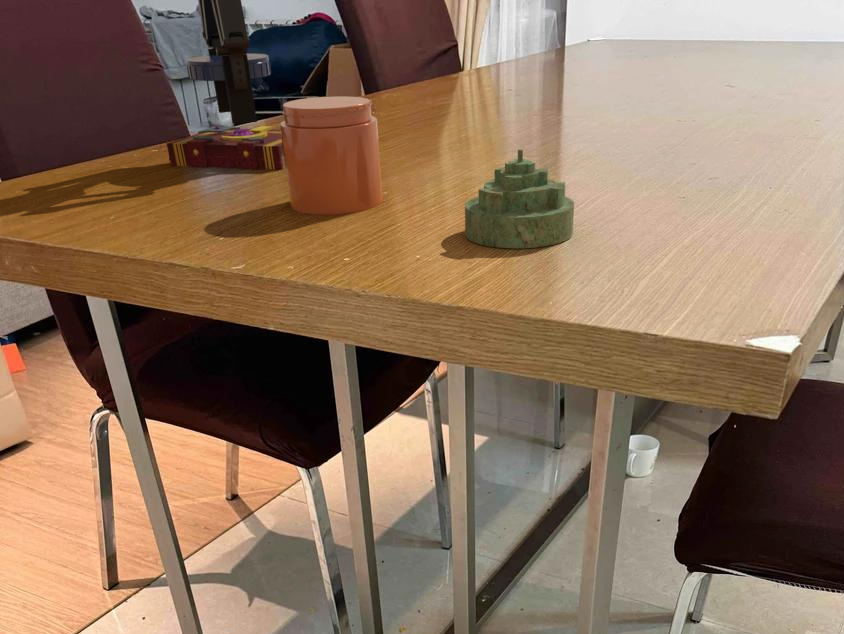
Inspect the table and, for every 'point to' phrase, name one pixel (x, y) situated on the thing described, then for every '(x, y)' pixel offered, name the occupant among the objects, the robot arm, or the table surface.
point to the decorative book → (230, 149)
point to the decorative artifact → (519, 209)
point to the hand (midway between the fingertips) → (237, 116)
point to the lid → (213, 67)
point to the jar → (331, 155)
